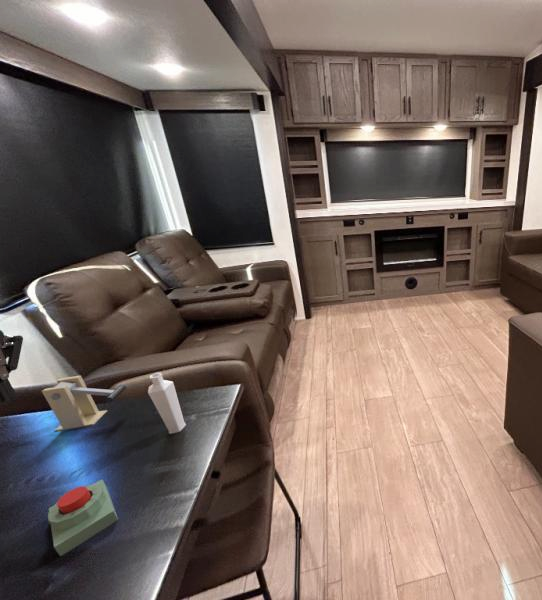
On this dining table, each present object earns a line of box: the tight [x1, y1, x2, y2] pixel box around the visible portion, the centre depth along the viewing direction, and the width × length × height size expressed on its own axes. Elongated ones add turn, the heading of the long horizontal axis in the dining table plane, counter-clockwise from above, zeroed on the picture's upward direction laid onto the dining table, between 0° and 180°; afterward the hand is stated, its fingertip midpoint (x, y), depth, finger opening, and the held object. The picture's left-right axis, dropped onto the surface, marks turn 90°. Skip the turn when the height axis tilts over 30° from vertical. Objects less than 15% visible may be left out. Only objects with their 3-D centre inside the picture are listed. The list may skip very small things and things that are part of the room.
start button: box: [56, 485, 91, 514], centre depth 52 cm, size 4×4×2 cm
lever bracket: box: [41, 375, 108, 432], centre depth 75 cm, size 8×6×12 cm
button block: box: [47, 479, 119, 557], centre depth 53 cm, size 10×7×4 cm
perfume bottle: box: [147, 372, 187, 435], centre depth 69 cm, size 5×4×15 cm
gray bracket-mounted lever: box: [54, 382, 127, 403], centre depth 75 cm, size 12×5×2 cm, turn 100°
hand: (4, 402), depth 52 cm, fingers closed
